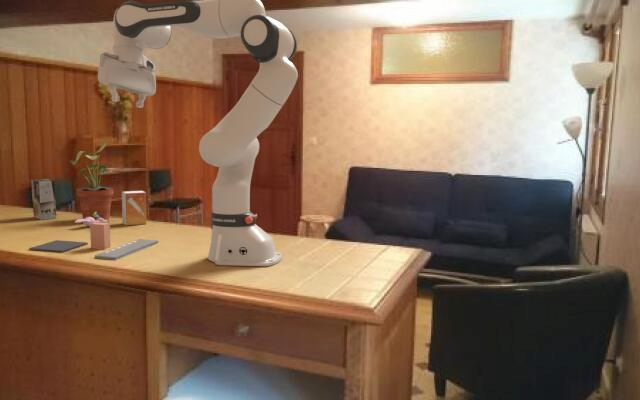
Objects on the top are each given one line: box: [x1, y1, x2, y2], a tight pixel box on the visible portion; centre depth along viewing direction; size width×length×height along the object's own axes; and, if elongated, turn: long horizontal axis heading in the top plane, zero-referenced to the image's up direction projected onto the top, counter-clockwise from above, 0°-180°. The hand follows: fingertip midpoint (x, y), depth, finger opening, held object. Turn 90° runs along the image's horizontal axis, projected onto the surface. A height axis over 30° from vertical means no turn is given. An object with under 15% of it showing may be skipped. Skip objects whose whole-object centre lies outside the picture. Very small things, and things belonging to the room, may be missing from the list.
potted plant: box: [69, 140, 114, 221], centre depth 211 cm, size 16×15×35 cm
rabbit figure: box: [74, 212, 110, 228], centre depth 200 cm, size 6×6×15 cm
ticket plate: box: [94, 238, 159, 261], centre depth 164 cm, size 7×24×1 cm, turn 168°
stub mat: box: [28, 239, 89, 254], centre depth 166 cm, size 12×12×1 cm
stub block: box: [89, 222, 112, 250], centre depth 165 cm, size 5×3×8 cm, turn 78°
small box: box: [121, 190, 147, 226], centre depth 206 cm, size 8×6×13 cm
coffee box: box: [30, 178, 57, 221], centre depth 215 cm, size 9×6×16 cm
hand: (128, 104), depth 158 cm, fingers open, 8 cm apart
